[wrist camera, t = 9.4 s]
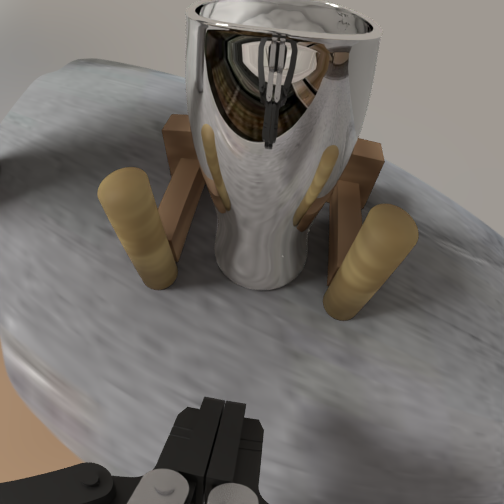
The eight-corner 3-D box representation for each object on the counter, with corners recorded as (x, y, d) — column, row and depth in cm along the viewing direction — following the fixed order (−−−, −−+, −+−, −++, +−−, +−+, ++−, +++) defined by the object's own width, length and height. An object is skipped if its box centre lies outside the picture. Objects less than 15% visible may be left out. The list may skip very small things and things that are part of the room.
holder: (130, 284, 19) (80, 203, 12) (180, 163, 25) (166, 79, 18) (366, 323, 18) (431, 256, 11) (361, 190, 24) (393, 109, 17)
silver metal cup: (188, 271, 19) (132, 24, 7) (236, 195, 23) (237, -13, 10) (291, 315, 18) (383, 62, 5) (325, 229, 22) (392, 18, 9)
